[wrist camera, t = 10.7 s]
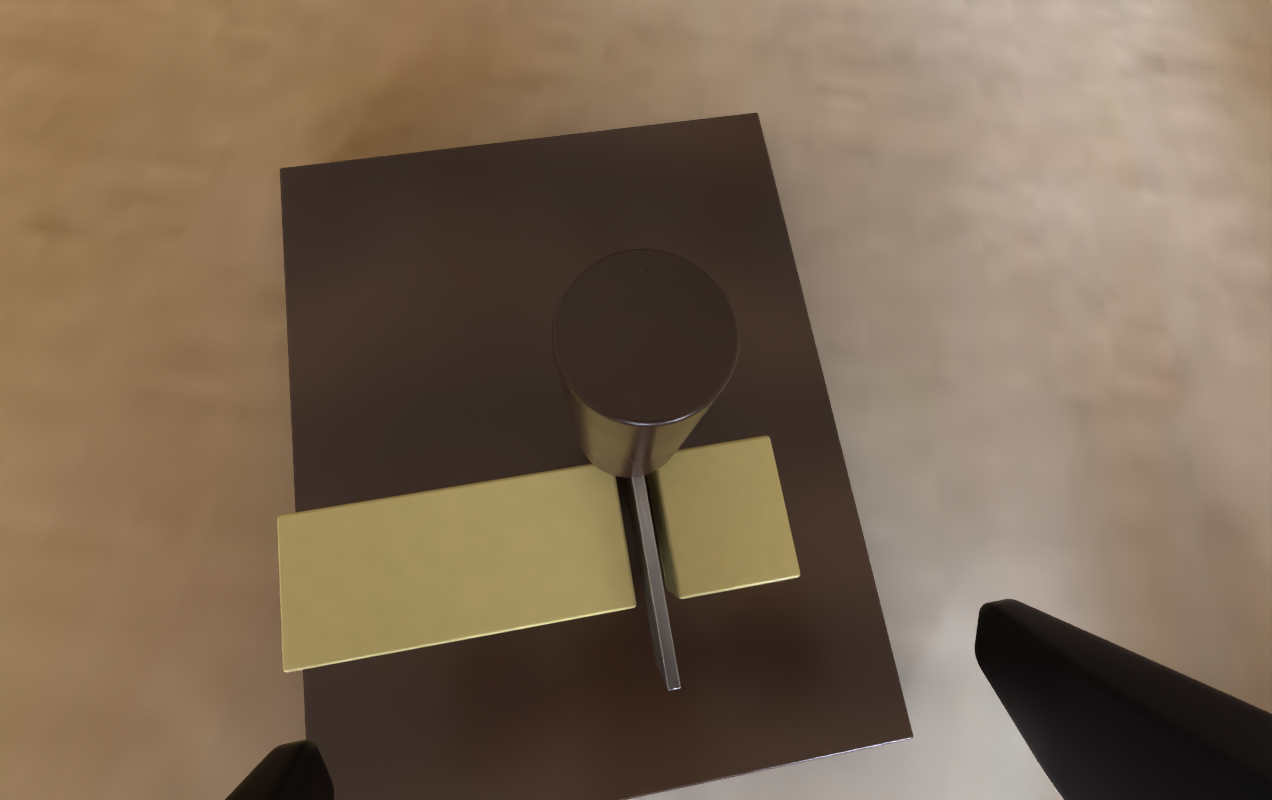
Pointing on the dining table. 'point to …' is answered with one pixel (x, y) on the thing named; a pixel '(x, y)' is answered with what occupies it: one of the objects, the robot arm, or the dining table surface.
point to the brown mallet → (643, 382)
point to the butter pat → (722, 518)
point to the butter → (450, 565)
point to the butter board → (545, 440)
